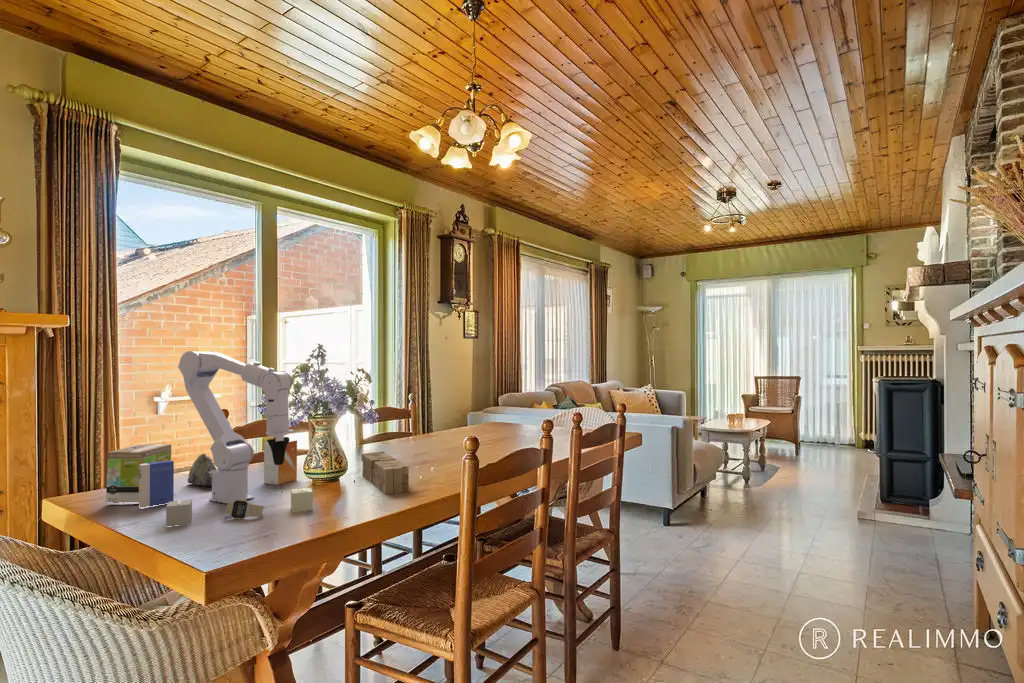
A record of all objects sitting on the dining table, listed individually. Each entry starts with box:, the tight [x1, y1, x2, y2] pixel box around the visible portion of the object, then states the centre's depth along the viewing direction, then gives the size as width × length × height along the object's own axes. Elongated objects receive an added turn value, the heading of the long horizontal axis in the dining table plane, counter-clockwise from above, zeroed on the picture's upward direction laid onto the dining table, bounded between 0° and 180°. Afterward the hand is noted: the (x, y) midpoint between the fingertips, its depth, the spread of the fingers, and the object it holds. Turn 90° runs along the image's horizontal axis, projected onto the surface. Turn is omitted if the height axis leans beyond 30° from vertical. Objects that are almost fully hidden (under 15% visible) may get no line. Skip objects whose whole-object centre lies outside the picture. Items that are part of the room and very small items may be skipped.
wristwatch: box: [224, 499, 264, 520], centre depth 145 cm, size 9×6×5 cm
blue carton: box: [138, 459, 175, 507], centre depth 156 cm, size 8×3×12 cm, turn 139°
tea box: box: [105, 443, 172, 503], centre depth 164 cm, size 15×10×15 cm
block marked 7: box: [290, 487, 314, 513], centre depth 151 cm, size 5×5×5 cm
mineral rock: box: [187, 453, 218, 487], centre depth 179 cm, size 13×11×10 cm
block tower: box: [360, 450, 410, 495], centre depth 181 cm, size 8×8×29 cm
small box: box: [263, 439, 298, 486], centre depth 185 cm, size 8×6×13 cm
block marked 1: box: [165, 499, 193, 527], centre depth 139 cm, size 5×5×5 cm
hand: (278, 464), depth 159 cm, fingers closed
